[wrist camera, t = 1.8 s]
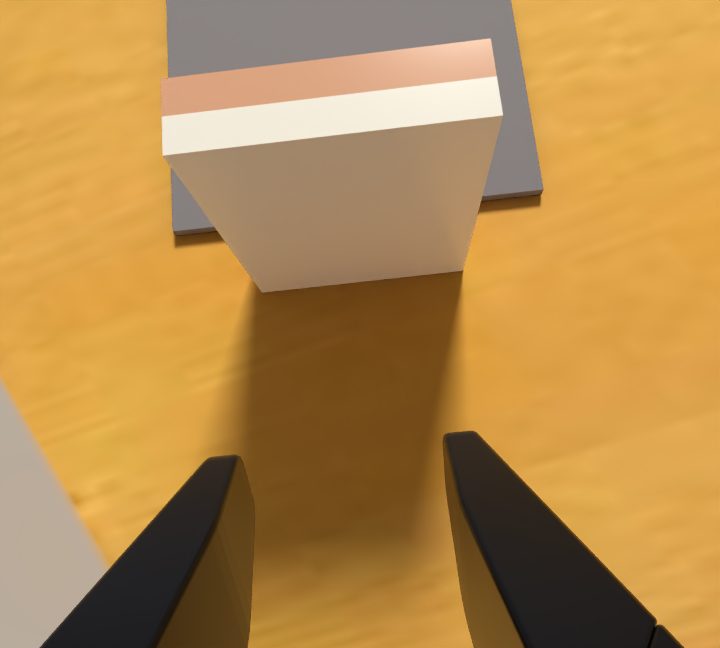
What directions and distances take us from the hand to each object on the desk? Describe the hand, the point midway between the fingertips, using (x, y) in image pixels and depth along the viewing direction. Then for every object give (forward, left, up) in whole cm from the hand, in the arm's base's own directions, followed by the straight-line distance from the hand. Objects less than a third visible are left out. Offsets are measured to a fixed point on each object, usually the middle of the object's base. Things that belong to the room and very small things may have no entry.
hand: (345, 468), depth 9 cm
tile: (+8, +1, -14) cm, 16 cm away
